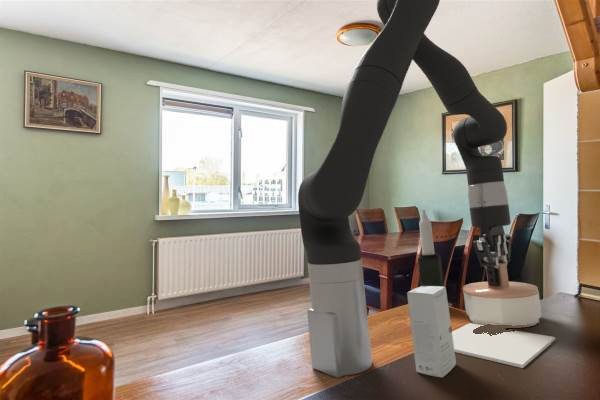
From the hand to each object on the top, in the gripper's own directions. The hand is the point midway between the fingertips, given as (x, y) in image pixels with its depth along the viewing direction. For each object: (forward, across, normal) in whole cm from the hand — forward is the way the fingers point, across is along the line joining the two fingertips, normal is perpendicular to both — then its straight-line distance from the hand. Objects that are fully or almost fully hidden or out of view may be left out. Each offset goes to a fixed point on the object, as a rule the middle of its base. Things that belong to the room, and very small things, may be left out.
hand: (498, 284), depth 75 cm
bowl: (+7, 0, 0) cm, 7 cm away
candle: (+8, +2, +17) cm, 19 cm away
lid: (+1, 0, 0) cm, 1 cm away
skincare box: (+8, -30, -2) cm, 31 cm away
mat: (+7, -15, -4) cm, 17 cm away
